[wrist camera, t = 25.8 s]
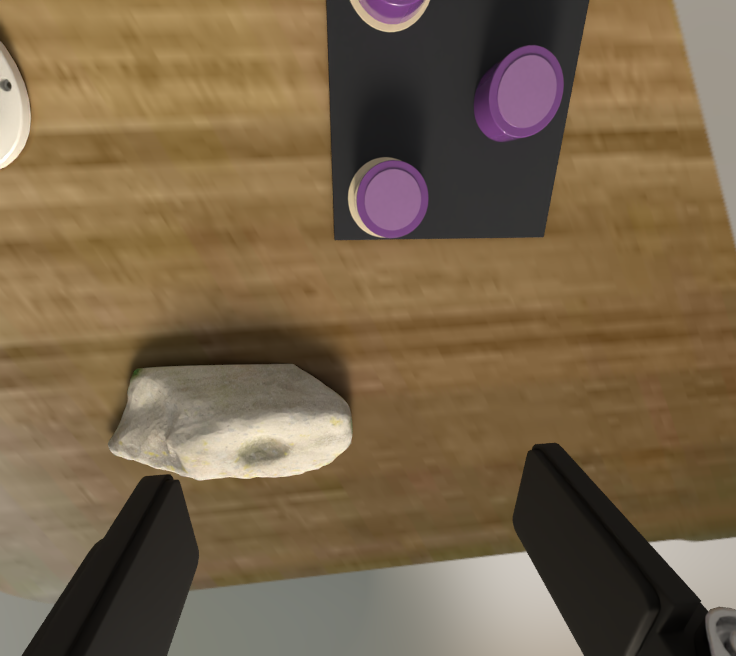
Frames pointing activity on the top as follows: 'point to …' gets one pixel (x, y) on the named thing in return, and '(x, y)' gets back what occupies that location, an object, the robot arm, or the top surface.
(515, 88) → the dish
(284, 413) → the stone
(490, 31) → the mat
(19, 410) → the top surface
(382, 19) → the purple short cylinder
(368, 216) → the dish
